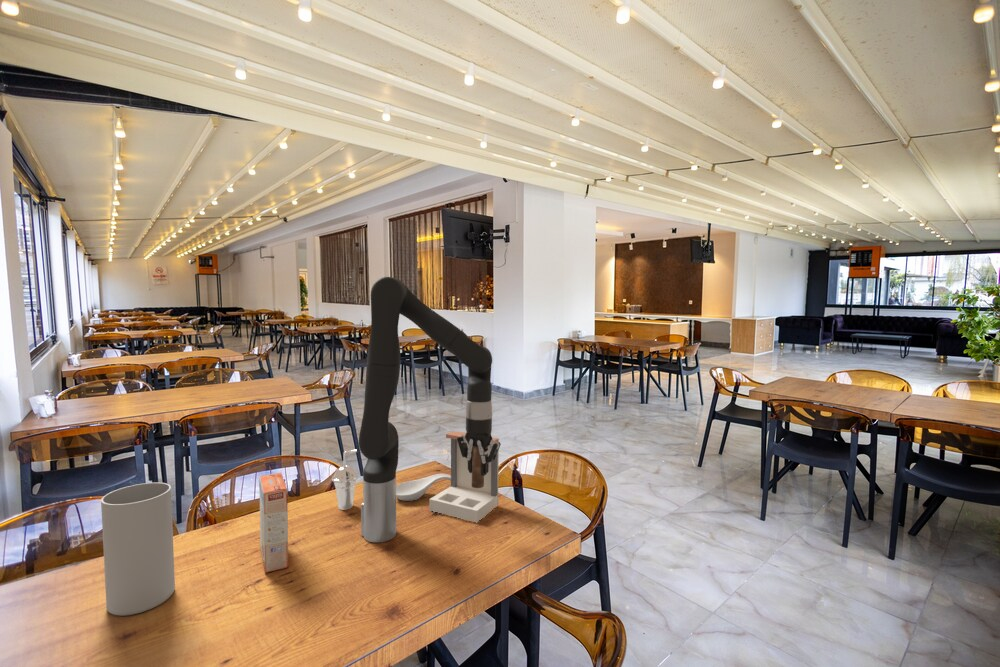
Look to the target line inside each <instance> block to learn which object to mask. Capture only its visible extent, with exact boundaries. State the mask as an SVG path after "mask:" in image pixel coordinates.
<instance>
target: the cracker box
mask: <svg viewBox="0 0 1000 667" xmlns="http://www.w3.org/2000/svg"><path fill="white" fill-rule="evenodd" d="M258 483H259V484H258V486H259V487H258V488H259V531H260V532H259V536H260V538H259V539H260V540H259V541H260V543H259V544H260V545H259V546H260V547H259V548H260V549H259V550H260V554H261V555H260V556H261V559H262V560H261V561H262V565H263V570H264V573H265V574H266V573H270V572H274V571H279V570H283V569H288V568H289V522H288V521H289V519H288V518H289V517H288V512H289V510H288V509H289V506H288V504H289V503H288V496H289V495H288V493H289V492H288V487H287V485H286V482H285V480H284V477H283V474H282V473H281V472H278V473H277V472H276V473H271V474H265V475H260V476H259V477H258Z"/></svg>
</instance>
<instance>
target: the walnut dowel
mask: <svg viewBox="0 0 1000 667" xmlns="http://www.w3.org/2000/svg"><path fill="white" fill-rule="evenodd" d="M484 451H485V450H484ZM481 463H482V459H481V456H480V453H479V447H476V446H473V449H472V487H473V488H482V487H484V476H482V475H481Z"/></svg>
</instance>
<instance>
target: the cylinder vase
mask: <svg viewBox="0 0 1000 667" xmlns="http://www.w3.org/2000/svg"><path fill="white" fill-rule="evenodd" d="M100 508H101V526H102V527H101V529H102V546H103V548H102V549H103V561H104V562H103V566H104V568H103V569H104V582H105V583H104V585H105V605H106V610H107V611H108V613H109V614H111V615H114V616H122V617H123V616H133V615H136V614H140V613H143V612H147V611H150V610H151V609H154V608H156V607H158V606H160V605H161V604H163V603H164V602H166V601H167V600H168V599H170V597H171V596H172V595H173V594H174V592H175V589H176V581H175V578H176V577H175V556H174V555H175V553H174V531H173V530H174V529H173V509H172V508H173V506H172V487H171V484H168V483H165V482H146V483H145V482H144V483H138V484H133V485H129V486H125V487H120V488H118V489H115V490H112V491H111V492H109V493H106V494H105V495H104V496H102V497H101V499H100Z"/></svg>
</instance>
